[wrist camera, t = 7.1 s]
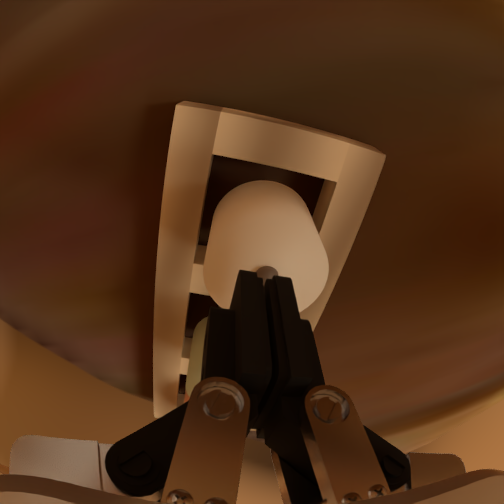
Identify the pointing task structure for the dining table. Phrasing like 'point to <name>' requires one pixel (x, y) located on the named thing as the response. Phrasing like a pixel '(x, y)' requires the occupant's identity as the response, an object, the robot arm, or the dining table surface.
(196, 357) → the button two
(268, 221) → the button one
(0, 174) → the dining table surface
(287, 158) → the wooden panel frame
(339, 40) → the dining table surface
